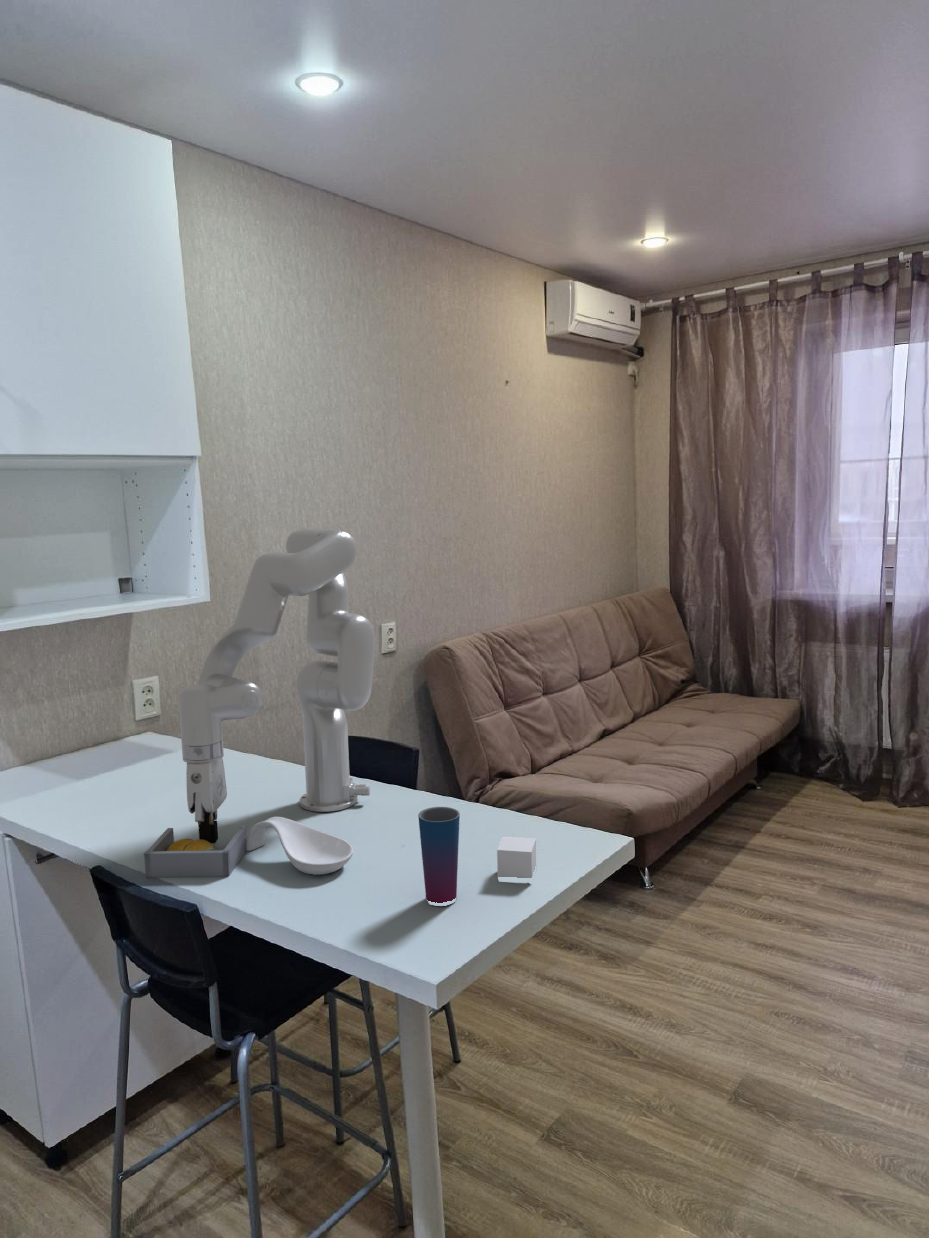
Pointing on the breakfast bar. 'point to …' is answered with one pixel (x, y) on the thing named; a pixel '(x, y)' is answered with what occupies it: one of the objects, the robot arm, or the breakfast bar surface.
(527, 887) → the breakfast bar surface
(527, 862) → the white cube
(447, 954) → the breakfast bar surface
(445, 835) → the cup
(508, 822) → the breakfast bar surface
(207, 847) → the bread roll
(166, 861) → the box
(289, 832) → the spoon rest
